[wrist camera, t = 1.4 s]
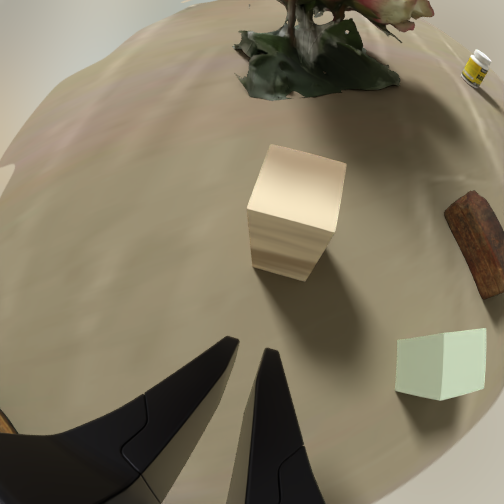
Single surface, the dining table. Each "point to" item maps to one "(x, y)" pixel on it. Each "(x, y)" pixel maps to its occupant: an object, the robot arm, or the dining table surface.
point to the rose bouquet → (323, 48)
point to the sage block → (442, 364)
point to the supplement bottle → (476, 69)
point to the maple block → (293, 211)
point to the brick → (479, 241)
